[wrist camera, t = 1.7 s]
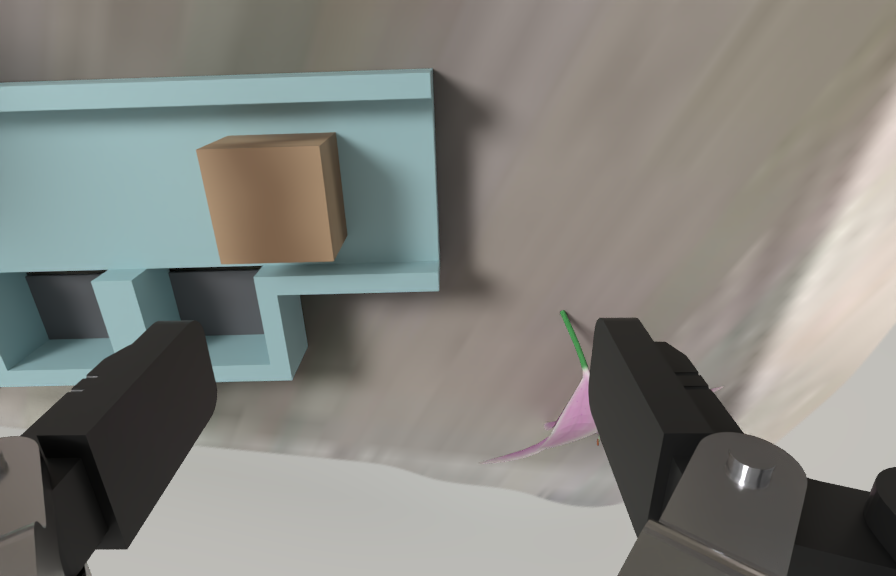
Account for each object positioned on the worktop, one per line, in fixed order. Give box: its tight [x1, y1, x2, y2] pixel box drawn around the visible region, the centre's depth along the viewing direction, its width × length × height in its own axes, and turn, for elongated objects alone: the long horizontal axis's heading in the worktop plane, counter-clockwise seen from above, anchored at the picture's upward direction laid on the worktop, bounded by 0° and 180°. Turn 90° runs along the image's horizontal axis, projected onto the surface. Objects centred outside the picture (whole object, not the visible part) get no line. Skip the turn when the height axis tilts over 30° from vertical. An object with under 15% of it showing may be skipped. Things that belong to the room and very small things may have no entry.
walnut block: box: [196, 132, 347, 264], centre depth 25 cm, size 5×5×4 cm
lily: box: [480, 310, 724, 464], centre depth 29 cm, size 12×12×10 cm
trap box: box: [0, 68, 440, 387], centre depth 28 cm, size 28×15×4 cm, turn 92°
